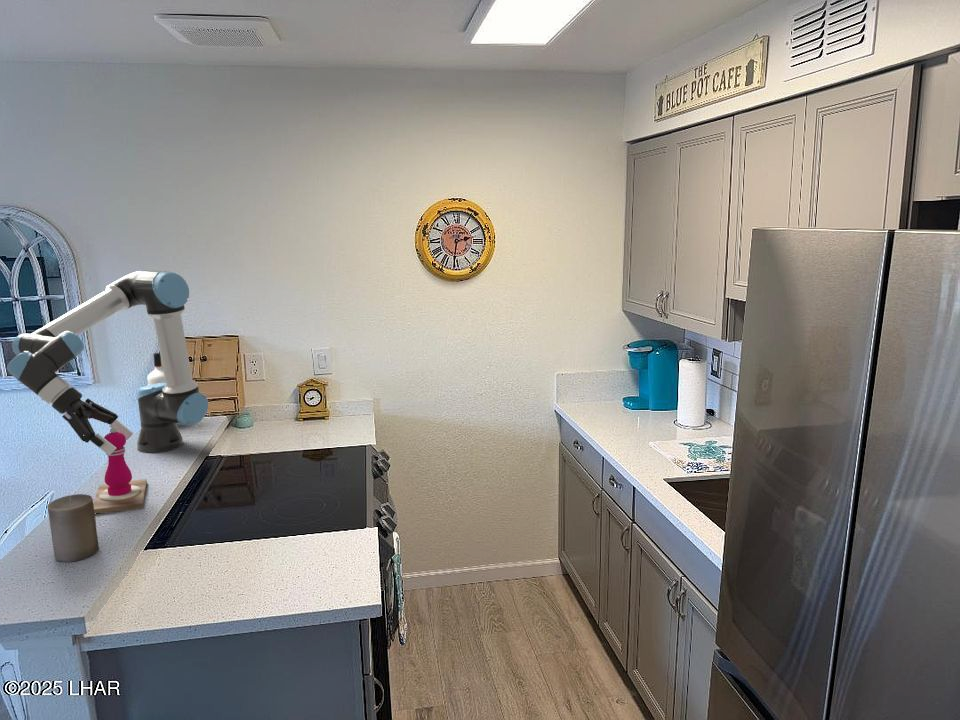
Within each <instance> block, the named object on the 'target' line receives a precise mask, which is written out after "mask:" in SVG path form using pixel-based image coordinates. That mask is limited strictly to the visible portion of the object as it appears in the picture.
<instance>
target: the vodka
mask: <svg viewBox="0 0 960 720" xmlns="http://www.w3.org/2000/svg"><path fill="white" fill-rule="evenodd" d="M153 363H154V370H152V371H151V372H150V373H149V374H148V375H147V379H146V380H147V383H148V384H147V385H152V384H158V383H166V382H165V376H164V371H163V366H162V360H161V355H160V352H155V353H153Z"/></svg>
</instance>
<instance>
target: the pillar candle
mask: <svg viewBox="0 0 960 720" xmlns="http://www.w3.org/2000/svg"><path fill="white" fill-rule="evenodd" d="M93 502H94V498H93V496H91V495H89V494H86V493H85V494H82V493H80V494H78V493H77V494H71V495H65V496H62V497H60V498H59V497H58V498H57V499H54V500H52V501H51V502H49V503H48V504H47V505H46V507H47V512H48V513H47V514H48V520H49V527H50V534H51V541H52V542H51V543H52V548H53V554H54V559H55V560H56V561H59V562H62V563H73V562H78V561H82V560H84V559H87V558H89V557H91V556H93V555H94V554H95V555H96V553H97V552H99V550H100V547H99V540H98V531H97V530H98V529H97V522H96V514H95V513H94V505H93Z"/></svg>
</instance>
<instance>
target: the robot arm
mask: <svg viewBox="0 0 960 720" xmlns="http://www.w3.org/2000/svg"><path fill="white" fill-rule="evenodd" d="M189 288H190V287H189V284H188V283H187V281H186V280H185V279H184V278H183V276H182V275H180V274H179V273H176V272H171V271H167V270H146V269H145V270H143V269H142V270H137V271H134V272H130V273H129V274H126V275H124V276H123V277H121V278H119V279H117V280H115V281H114V282H112V283H110V284H108V285H106V287H105V291H102V292H101V293H99V294H97V295H95V296H94V297H92V298H90V299H89V300H87V301H85V302H84V303H82V304H80V305H78V306H77V307H75V308H73V309H71V310H70V311H68V312H66V313H65V314H63V315H61V316H59V317H58V318H56V319H54V320H52V321H50V322H49V323H47V324H46V325H44V326H42V327H40V328H38V329H36V330H35V331H33V332H31V333H21V334H19V335H17V336H15V338H14V339H13V341H12V343H11V348H12V351H13V353H14V355H15V356H14V357H13V358H12V359H11V360H10V361H9V362H8V364H7V366H6V370H7V372H8V373H9V374H10V375H11V376H12V377H14V379H16V380H17V381H18V382H19V383H21V384H22V385H24V386H25V388H28V389H29V390H30V391H31V392H33V393H34V394H35V395H36V396H38V397H39V398H41V401H44V402H45V403H47V404H48V405H51V407H52V408H53V409H54V410H55V411H57V412H58V413H59V414H61V415H62V418H63V419H64V420H65V421H66V422H67V423H68V424H69V425H70V426H71V428H72V429H73V430H74V432H75V433H76V435H77V436H78V437H79V439H80V440H81V441H82V442H85V443H89V442H91V443H92V444H94V445H95V446H97V447H98V448H99V449H100V450H102V451H103V452H104V454H106V453H107V454H108V455H110V454H111V453H112V452H113V451H114V450H115V449H116V447H115V446H114V445H112V444H111V443H110V442H108V441H107V440H106V439H105V438H104V437H103V436H102V435H101V434H100V433H96V432H95V430H94V427H92V425H91V422H90V421H89V420H90V419H93V420H96V421H99V422H101V423H104V424H107V425H109V428H110V429H111V428H112V427H115V428H116V429H117V432H120V433H122V434H124V436H125V438H126V441H128V440H129V439H131V437H132V436H133V435H134V434H135V433H134V432H133V431H131V430H130V429H129V428H128V427H127V426H125V425H124V424H123V423H121V421H119V420H118V418H119V415H118V414H117V413H114V412H113V411H111V410H110V409H107V408H106V407H103V406H101V405H100V404H97V403H96V402H95V401H93V400H92V399H90V398H86V399H85V400H84V401H83V400H82V398H83V394H82V393H81V392H80V391H79V390H77V389H76V388H75V387H71V384H70V383H69V382H67V380H65V378H64V379H63V378H62V377H61V376H60V375H59V374H57V372H59V370H60V369H62V368H63V367H64V366H66V365H68V363H70V362H71V361H72V360H74V359H75V358H77V356H78V355H80V353H82V352H83V351H84V349H85V345H84V342H83V341H82V339H81V338H80V337H79V336H80V335H82V334H83V333H85V332H86V331H88V330H90V329H91V328H93V327H95V326H96V325H98V324H100V323H101V322H103V321H104V320H106V319H108V318H109V317H111V316H113V315H114V314H116V313H117V312H119V311H127V310H128V309H130V308H132V307H136V306H141V305H144V306H145V308H146V312H147V315H149V317H152V318H153V322H154V328H155V329H154V330H155V334H156V338H157V344H158V348H159V353H160V355H161V365H162V369H163V371H164V376H165V382H166V383H158V384H152V385H148V384H147V385H144V386H142V387H140V388H138V390H137V401H138V402H137V403H138V411H139V412H138V413H139V421H140V430H139V434H138V437H137V442H136V447H137V450H138V451H140V452H143V453H162V452H168V451H172V450H175V449H177V448H180V447H181V446H182V445H183V444H184V443H183V442H184V441H183V440H184V439H183V435H182V433H181V431H180V428H179V426H178V425H177V424H179V425H182V426H186V425H187V426H193V425H197V424H198V423H200V422H201V421H202V420H203V419H204V418H205V416H206V415H207V413H208V409H209V400H208V397H207V396H206V395H204V394H203V393H202V392H200V389H199V384H198V383H197V381H195V380H193V376H192V370H191V365H190V359H189V355H188V354H189V353H188V347H187V342H186V337H185V330H184V326H183V320H182V319H183V318H182V313H183V312H184V311H185V305H186V303H187V302H188V299H189V298H190V289H189ZM108 455H107V456H108Z"/></svg>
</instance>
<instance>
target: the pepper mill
mask: <svg viewBox="0 0 960 720" xmlns="http://www.w3.org/2000/svg"><path fill="white" fill-rule="evenodd" d="M103 438H105V439H106V440H107V441H108V442H110V443H111V444H112V445H114V446H115V447H116V449H115V450H114V451H113V452H112V453H111V454H110V455H108V454H107V453H105V455H106V456H107V459H108V463H107V468H106V470H105V473H104V484H107V485H108V486H109V487H108V488H107V490H108V494H109V495H111V496H120V495H125V494H127V493H129V492H131V490H132V489H131V484H130V483H129V482H130V481H133V480H132V479H133V476H132V472H131V469H130V468H129V466H128V464H127V462H126V460H125V453H126V447H124V446H125V445H126V443H127V440H126V438H125V436H124V434H122V433H120V432H117V429H116V428H115V427H112V428H111V427H110V429H109V433H107V434H106V435H104V437H103Z"/></svg>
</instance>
